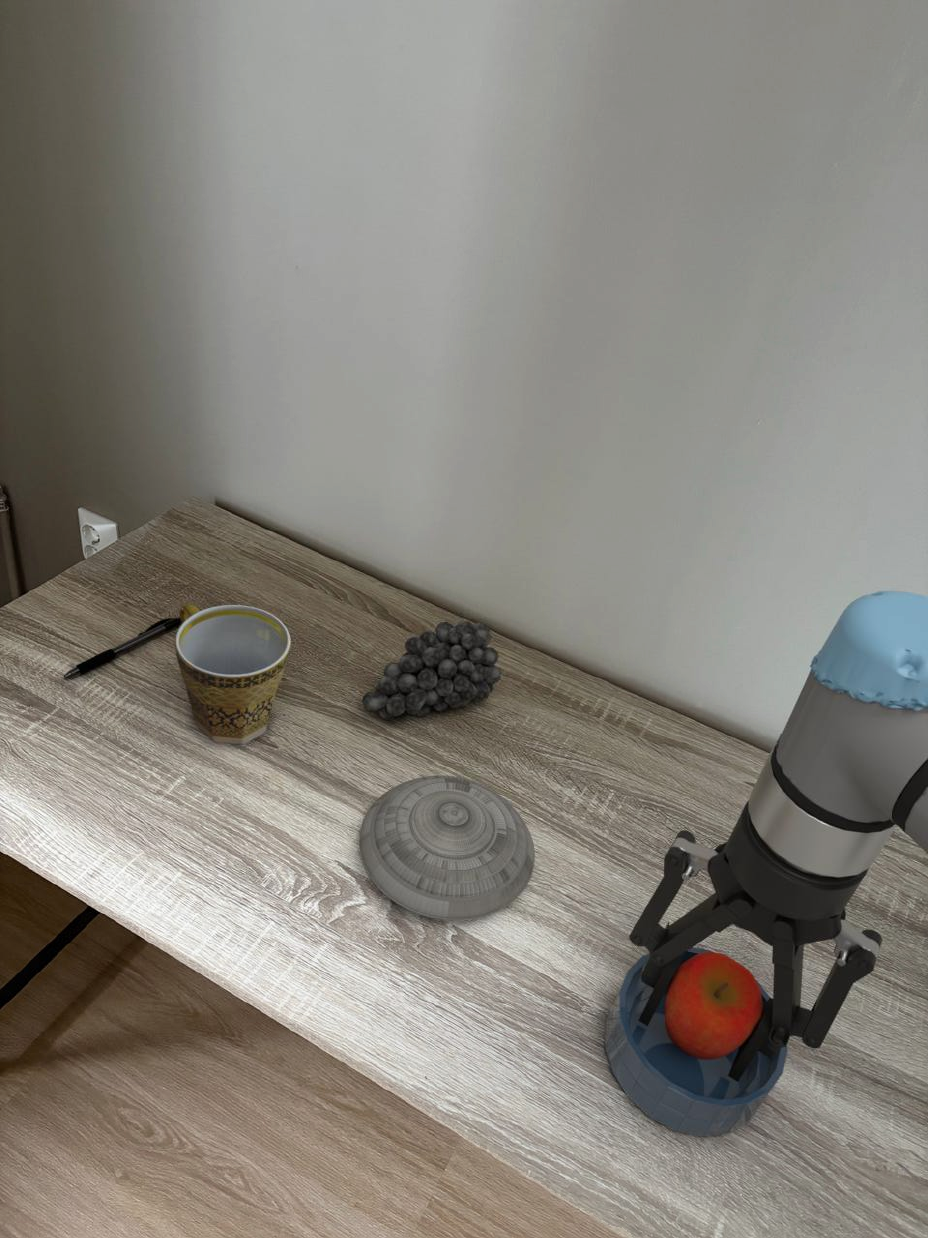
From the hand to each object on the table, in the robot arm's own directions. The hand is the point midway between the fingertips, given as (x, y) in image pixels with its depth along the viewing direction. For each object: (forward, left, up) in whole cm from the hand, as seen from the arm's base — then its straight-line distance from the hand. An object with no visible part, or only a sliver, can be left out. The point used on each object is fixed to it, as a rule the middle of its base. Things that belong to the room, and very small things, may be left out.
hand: (693, 1036), depth 71 cm
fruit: (+41, +1, -3) cm, 41 cm away
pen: (+58, +26, -3) cm, 63 cm away
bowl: (0, 0, -3) cm, 3 cm away
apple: (0, 0, -1) cm, 1 cm away
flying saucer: (+23, +8, -3) cm, 25 cm away
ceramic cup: (+46, +20, -3) cm, 50 cm away
